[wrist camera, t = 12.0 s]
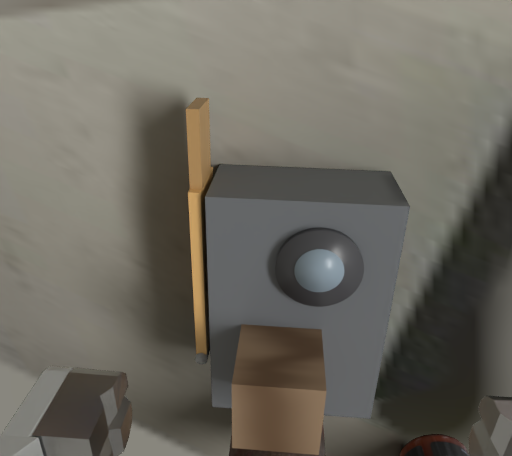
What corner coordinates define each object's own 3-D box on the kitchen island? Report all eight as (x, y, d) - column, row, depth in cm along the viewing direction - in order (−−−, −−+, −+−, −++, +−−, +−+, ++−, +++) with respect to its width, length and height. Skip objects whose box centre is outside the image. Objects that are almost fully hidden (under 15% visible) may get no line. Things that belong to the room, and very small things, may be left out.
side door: (217, 320, 35) (207, 364, 31) (207, 319, 35) (195, 363, 31) (212, 94, 27) (197, 112, 23) (199, 94, 27) (181, 111, 23)
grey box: (360, 362, 36) (371, 425, 31) (223, 352, 37) (210, 413, 32) (390, 171, 29) (412, 211, 24) (219, 164, 30) (203, 201, 24)
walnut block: (321, 329, 28) (326, 390, 24) (315, 388, 31) (318, 455, 26) (241, 324, 29) (231, 384, 24) (241, 383, 31) (232, 447, 26)
